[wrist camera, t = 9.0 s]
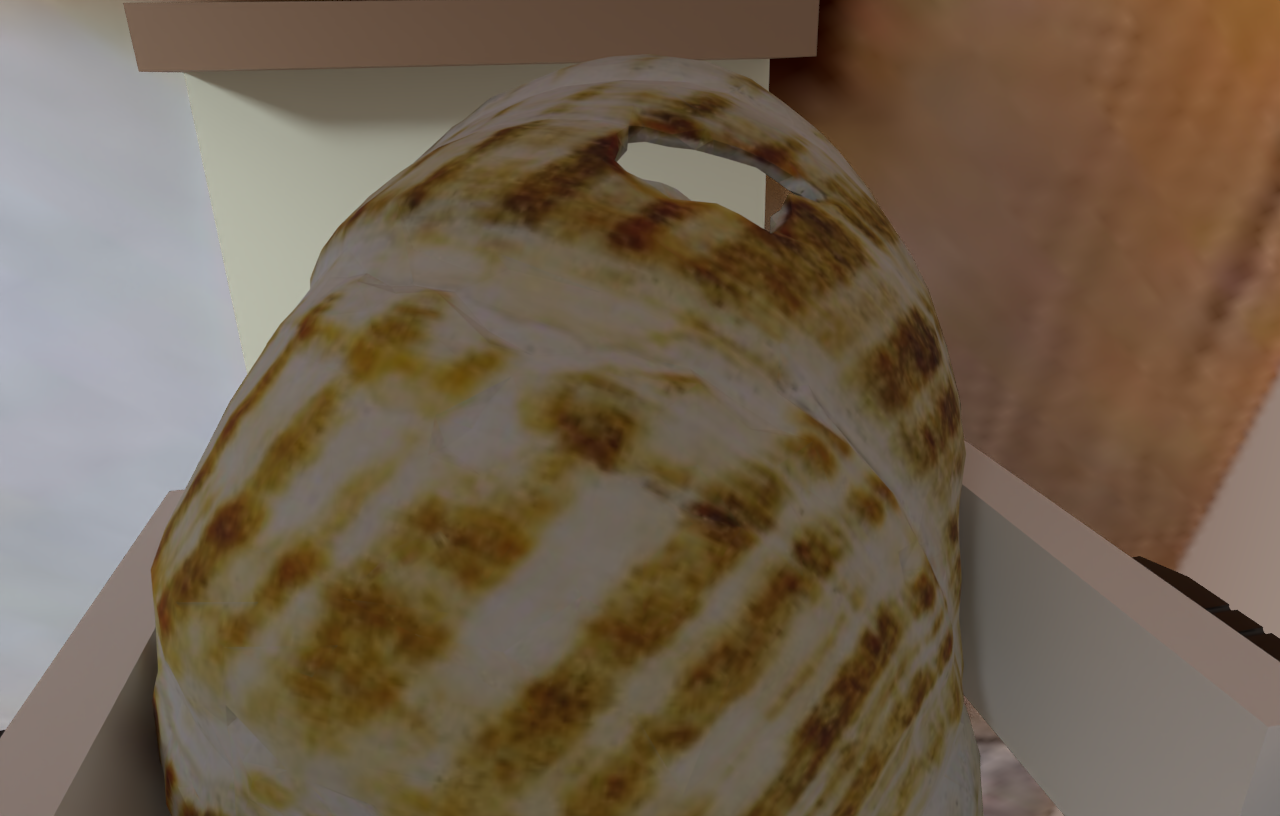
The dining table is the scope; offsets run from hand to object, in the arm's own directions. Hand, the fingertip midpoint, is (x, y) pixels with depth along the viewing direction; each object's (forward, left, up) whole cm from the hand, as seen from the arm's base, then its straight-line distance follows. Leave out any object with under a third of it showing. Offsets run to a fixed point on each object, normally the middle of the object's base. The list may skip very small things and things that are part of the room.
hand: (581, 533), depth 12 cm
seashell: (0, 0, -1) cm, 1 cm away
